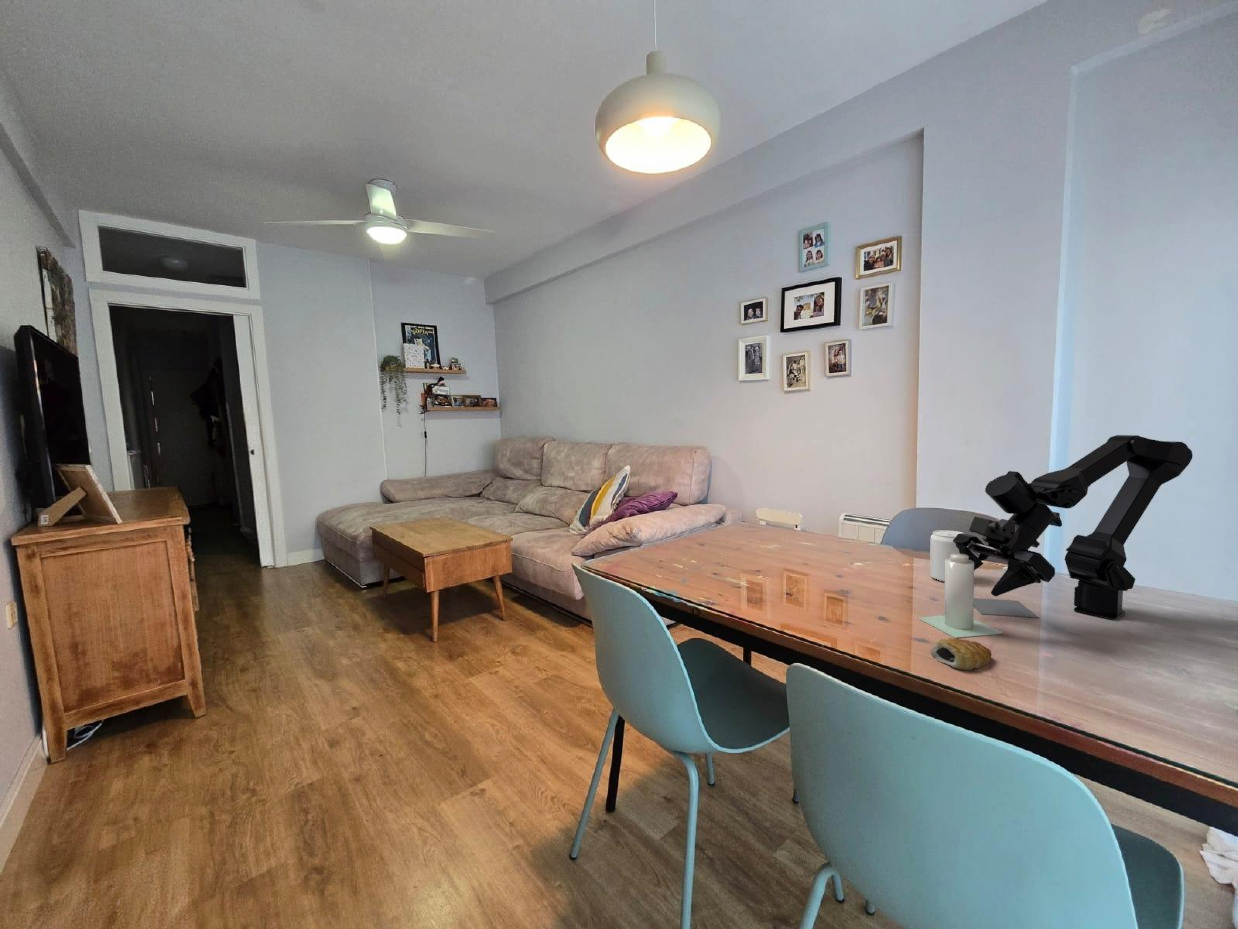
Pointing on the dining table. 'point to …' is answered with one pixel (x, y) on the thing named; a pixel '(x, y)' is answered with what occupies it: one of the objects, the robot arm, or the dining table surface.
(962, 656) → the pastry
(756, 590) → the dining table surface
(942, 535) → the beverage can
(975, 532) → the robot arm
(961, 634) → the green tile
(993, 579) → the dining table surface
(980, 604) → the felt pad
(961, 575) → the white bottle
